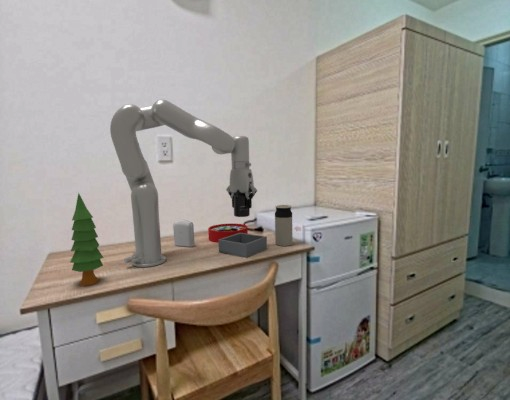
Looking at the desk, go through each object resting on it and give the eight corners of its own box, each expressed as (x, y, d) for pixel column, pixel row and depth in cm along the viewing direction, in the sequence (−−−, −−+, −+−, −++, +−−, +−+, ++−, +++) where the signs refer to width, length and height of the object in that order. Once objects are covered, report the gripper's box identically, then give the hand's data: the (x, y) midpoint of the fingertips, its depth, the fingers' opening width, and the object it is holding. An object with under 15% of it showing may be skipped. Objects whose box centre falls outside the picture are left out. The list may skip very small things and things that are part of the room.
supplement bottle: (244, 217, 125) (243, 189, 124) (230, 216, 129) (229, 188, 127) (252, 215, 131) (252, 187, 129) (240, 214, 134) (239, 187, 133)
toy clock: (252, 229, 147) (212, 233, 141) (252, 241, 148) (212, 245, 142) (241, 222, 166) (205, 225, 160) (241, 232, 167) (205, 236, 161)
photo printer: (173, 245, 143) (171, 220, 141) (179, 243, 146) (177, 218, 145) (190, 247, 138) (188, 221, 136) (196, 245, 142) (194, 219, 140)
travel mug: (291, 246, 136) (291, 207, 133) (274, 246, 137) (273, 207, 135) (293, 242, 143) (292, 204, 141) (276, 241, 145) (275, 204, 143)
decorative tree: (71, 289, 94) (61, 194, 91) (74, 279, 103) (65, 191, 99) (105, 283, 98) (97, 192, 95) (106, 274, 107) (98, 190, 103)
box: (246, 257, 121) (245, 244, 121) (218, 252, 130) (218, 239, 129) (266, 248, 133) (266, 236, 133) (240, 244, 142) (240, 232, 141)
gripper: (262, 165, 125) (263, 207, 127) (230, 166, 135) (232, 205, 137) (251, 165, 119) (252, 210, 121) (219, 166, 129) (220, 207, 131)
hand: (241, 207), depth 129 cm, fingers closed on supplement bottle, 6 cm apart
